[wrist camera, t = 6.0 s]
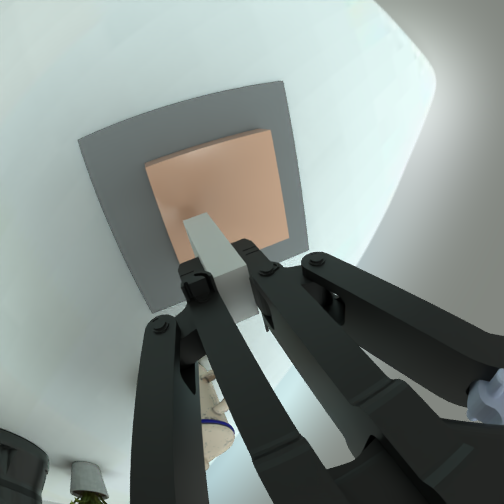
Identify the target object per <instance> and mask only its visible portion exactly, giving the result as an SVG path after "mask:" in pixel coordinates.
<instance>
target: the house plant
mask: <svg viewBox="0 0 504 504" xmlns="http://www.w3.org/2000/svg"><path fill="white" fill-rule="evenodd" d="M70 493H71V494H72V495H74V496H76V497H78V498H77V499H76V498H75V501H74V502H72V501H71V503H70V504H74V503H75V502H79V503H78V504H103V503H104V504H107V503H106V502H105V501H104V500H105V499H108V498H109V495H108V493H107V490H106V487H105V484H104V481H103V478H102V475H101V472H100V469H99V467H98V466H97V465H95V464H92V463H89V462H82V461H79V462H74V463H73V464H72V473H71V485H70ZM79 498H81V500H78V499H79ZM100 500H102V502H103V503H102V502H101V501H100Z"/></svg>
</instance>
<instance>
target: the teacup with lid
mask: <svg viewBox="0 0 504 504" xmlns="http://www.w3.org/2000/svg"><path fill="white" fill-rule="evenodd" d="M214 379H216V377H215V375H214V372H213V370H210V371H208V372H207V371H206V369H205V368H204V367H203V366H201V365H200V364H199V386H200V405H201V422H202V436H203V449H204V460H205V471H206V470H207V469H208V468H209V463H208V462H210V461H211V460H213V459H214V458H215V457H217V456H219V455H221V454H222V453H224V452H225V451H227V450H228V449H229V448H230V446H231V445H232V444H233V442H234V438H235V435H234V434H235V432H234V429H233V427H232V426H231V425H230V424H229V423H228V421H227V419H226V416H225V414H224V412H226V411H227V410H228V409H229V408H228V405H227V403H226V401H225V399H223V400H222V401H221V402H219V400H218V397H217V395H216V392H215V390H214V387H213V385H212V382H211V381H212V380H214ZM137 382H138V381H137Z"/></svg>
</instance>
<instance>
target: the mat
mask: <svg viewBox="0 0 504 504" xmlns="http://www.w3.org/2000/svg"><path fill="white" fill-rule="evenodd" d="M259 128H260V129H268V130H271V135H272V140H273V145H274V151H275V156H276V162H277V167H278V173H279V178H280V184H281V190H282V196H283V202H284V208H285V214H286V220H287V227H288V233H289V238H288V239H285V240H283V241H280V242H278V243H275V244H273V245H270V246H267V247H265V248H262V249H260V250H261V251H262V253H263V254H264V255H265V256H266V257H267V258H268V259H269V260H270V261H273V262H278V263H279V262H282V261H284V260H287V259H289V258H291V257H294V256H296V255H298V254H301V253H303V252H306V251H308V250H309V245H308V236H307V228H306V220H305V212H304V204H303V196H302V189H301V182H300V175H299V169H298V162H297V156H296V149H295V143H294V137H293V131H292V125H291V120H290V114H289V109H288V103H287V98H286V93H285V88H284V83H283V81H278V82H271V83H265V84H258V85H253V86H247V87H242V88H237V89H232V90H227V91H222V92H218V93H213V94H209V95H205V96H201V97H197V98H193V99H190V100H186V101H182V102H179V103H175V104H172V105H169V106H165V107H162V108H159V109H156V110H153V111H150V112H147V113H144V114H141V115H138V116H135V117H132V118H130V119H127V120H124V121H122V122H119V123H116V124H114V125H111V126H109V127H106V128H104V129H102V130H99V131H97V132H94V133H92V134H90V135H88V136H85V137H83V138H81V139H79V140H78V143H79V146H80V149H81V152H82V155H83V158H84V161H85V164H86V167H87V170H88V173H89V176H90V178H91V181H92V184H93V186H94V189H95V192H96V194H97V197H98V199H99V202H100V205H101V207H102V209H103V212H104V214H105V217H106V219H107V222H108V224H109V226H110V229H111V231H112V233H113V235H114V238H115V240H116V242H117V244H118V246H119V249H120V251H121V253H122V255H123V257H124V259H125V261H126V263H127V266H128V268H129V270H130V272H131V274H132V276H133V278H134V280H135V282H136V284H137V286H138V288H139V289H140V291H141V293H142V295H143V297H144V299H145V301H146V303H147V305H148V306H149V308H150V310H151V312H152V314H153V313H155V312H158V311H160V310H163V309H165V308H168V307H170V306H173V305H176V304H178V303H181V302H183V301H186V298H185V296H184V294H183V292H182V289H181V279H180V276H179V273H178V268H179V265H180V263H179V261H178V258H177V256H176V253H175V250H174V248H173V245H172V243H171V240H170V237H169V235H168V232H167V229H166V227H165V224H164V221H163V218H162V216H161V213H160V210H159V207H158V204H157V201H156V199H155V196H154V193H153V190H152V187H151V184H150V181H149V178H148V175H147V172H146V169H145V163H146V162H149V161H152V160H155V159H157V158H160V157H163V156H166V155H169V154H172V153H175V152H178V151H181V150H184V149H187V148H190V147H193V146H197V145H200V144H203V143H206V142H210V141H213V140H217V139H220V138H224V137H227V136H231V135H235V134H239V133H243V132H247V131H251V130H255V129H259Z"/></svg>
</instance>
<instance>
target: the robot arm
mask: <svg viewBox="0 0 504 504" xmlns="http://www.w3.org/2000/svg"><path fill="white" fill-rule="evenodd" d="M183 223H184V226H185V229H186V232H187V235H188V238H189V241H190V244H191V246H192V249H193V252H194V255H195V258H193V259H191V260H188V261H186V262H183V263H181V264H180V265H179V268H178V273H179V276H180V279H181V289H182V292H183V294H184V296H185V298H186V301H187V305H186V307H185V309H184V310H183V311H182V312H181V313H180V314H178V315H177V316H175V317H173V316H171V315H160V316H157V317H155V318H154V319H152V320H151V321H150V322H149V323H148V324H147V326H146V329H145V333H144V340H143V346H142V352H141V359H140V366H139V374H138V382H137V390H136V399H135V409H134V419H133V432H132V447H131V470H130V504H209V498H208V491H207V480H206V471H205V460H204V449H203V436H202V422H201V405H200V386H199V363H198V360H199V359H201V358H202V357H203V356H205V355H207V357H208V360H209V362H210V365H211V367H212V370H213V372H214V375H215V377H216V380H217V382H218V384H219V387H220V389H221V392H222V394H223V396H224V399H225V401H226V403H227V405H228V408H229V410H230V412H231V415H232V417H233V419H234V421H235V423H236V426H237V428H238V430H239V432H240V434H241V436H242V438H243V441H244V443H245V445H246V446H247V449H248V451H249V453H250V455H251V458H252V462H253V464H254V467H255V469H256V471H257V473H258V475H259V477H260V479H261V481H262V483H263V485H264V486H265V488H266V490H267V492H268V494H269V496H270V498H271V499H272V501H273V503H274V504H504V336H500V335H495V334H490V333H487V332H485V331H483V330H481V329H480V328H478V327H476V326H474V325H472V324H470V323H468V322H466V321H464V320H462V319H460V318H458V317H457V316H455V315H453V314H451V313H449V312H447V311H445V310H443V309H441V308H439V307H437V306H435V305H433V304H431V303H429V302H427V301H425V300H423V299H421V298H419V297H417V296H415V295H413V294H411V293H409V292H407V291H405V290H403V289H401V288H399V287H397V286H395V285H392V284H391V283H388V282H386V281H384V280H382V279H380V278H378V277H376V276H374V275H372V274H370V273H367V272H366V271H363V270H361V269H359V268H357V267H355V266H353V265H351V264H349V263H346V262H344V261H342V260H340V259H338V258H336V257H334V256H331V255H329V254H327V253H324V252H313V253H309V254H307V255H305V256H304V257H303V258H302V261H301V265H299V266H294V267H283V266H282V265H281V264H279V263H278V262H273V261H270V260H269V259H268V258H267V257H266V256H265V255H264V254H263V253H262V251H261V250H259V248H258V247H257V246H256V245H255V244H254V243H253V242H252V241H251V240H248V239H245V238H244V239H241V240H238V241H236V242H233V243H230V242H229V241H228V240H227V238H226V237H225V236H224V234H223V233H222V232H221V230H220V229H219V228H218V227H217V225H216V224H215V223H214V221H213V220H212V219H211V217H210V216H209V215H208V213H207V212H205V213H203V214H200V215H197V216H195V217H192V218H189V219H186V220H184V221H183ZM335 294H336V295H335ZM337 295H338V296H337ZM257 306H258V307H257ZM258 308H259V309H260V310H261V312H262V316H263V320H264V324H265V328H266V331H267V332H268V331H269V329H270V331H271V332H272V334H273V335H274V337H275V338H276V340H277V341H278V343H279V344H280V346H281V347H282V348H283V350H284V351H285V353H286V354H287V356H288V357H289V359H290V360H291V362H292V363H293V365H294V366H295V368H296V369H297V370H298V372H299V373H300V375H301V376H302V378H303V379H304V381H305V382H306V383H307V385H308V386H309V388H310V389H311V391H312V392H313V394H314V395H315V396H316V398H317V399H318V401H319V402H320V403H321V405H322V406H323V408H324V409H325V411H326V412H327V413H328V415H329V416H330V417H331V419H332V420H333V422H334V423H335V425H336V426H337V427H338V429H339V430H340V431H341V433H342V434H343V436H344V438H345V440H346V443H347V445H348V448H349V449H350V451H351V453H352V454H353V456H354V457H355V460H353V461H352V462H349V463H346V464H343V465H340V466H337V467H333V468H330V469H326V468H325V467H324V465H323V464H322V462H321V461H320V459H319V458H318V456H317V455H316V453H315V452H314V450H313V449H312V447H311V446H310V444H309V443H308V441H307V440H306V439H305V438H304V437H303V436H301V434H299V432H298V430H297V429H296V427H295V425H294V424H293V422H292V421H291V419H290V417H289V416H288V414H287V412H286V411H285V409H284V407H283V406H282V404H281V402H280V401H279V399H278V397H277V396H276V394H275V393H274V391H273V389H272V387H271V386H270V384H269V382H268V380H267V379H266V377H265V375H264V374H263V372H262V370H261V368H260V367H259V365H258V363H257V361H256V360H255V358H254V356H253V354H252V353H251V351H250V349H249V347H248V345H247V344H246V342H245V340H244V338H243V336H242V335H241V333H240V331H239V329H238V327H237V326H236V323H238V322H241V321H243V320H245V319H248V318H250V317H252V316H255V315H257V314H259V311H258ZM268 328H269V329H268ZM359 346H360V347H361V348H363V349H365V350H366V351H368V352H369V353H371V354H372V355H374V356H375V357H377V358H379V359H380V360H382V361H383V362H385V363H386V364H388V365H390V366H391V367H393V368H394V369H396V370H398V371H399V372H401V373H402V374H404V375H405V376H407V377H408V378H410V379H412V380H413V381H415V382H416V383H418V384H420V385H421V386H423V387H424V388H426V389H428V390H429V391H431V392H433V393H434V394H436V395H437V396H439V397H441V398H443V399H445V400H446V401H448V402H451V403H454V404H456V405H459V406H463V407H467V408H468V410H467V417H468V419H469V420H471V421H476V420H479V421H481V422H482V423H474V422H465V421H458V420H450V419H444V418H440V417H439V416H438V415H437V414H436V413H435V412H434V411H433V410H432V409H431V408H430V407H429V406H428V405H427V404H426V402H424V400H423V399H422V398H421V397H420V396H419V395H418V394H417V393H416V392H415V391H414V390H413V389H412V388H411V387H410V386H409V385H408V384H407V383H406V382H405V381H403V380H400V379H394V380H392V379H390V378H389V377H387V376H386V375H385V374H384V373H383V371H381V369H380V368H379V367H378V366H377V365H376V364H375V363H374V362H373V361H372V360H371V359H370V358H369V356H368V355H367V354H366V353H365V352H364V351H363V350H362V349H361V348H360V347H359ZM48 471H49V459H48V457H47V455H46V454H45V453H44V452H43V451H42V450H41V449H39V448H38V447H37V446H35V445H33V444H32V443H30V442H28V441H27V440H25V439H23V438H21V437H19V436H16V435H14V434H12V433H9V432H7V431H4V430H1V429H0V504H42V496H41V494H42V490H43V487H44V483H45V480H46V475H47V474H48Z"/></svg>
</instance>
